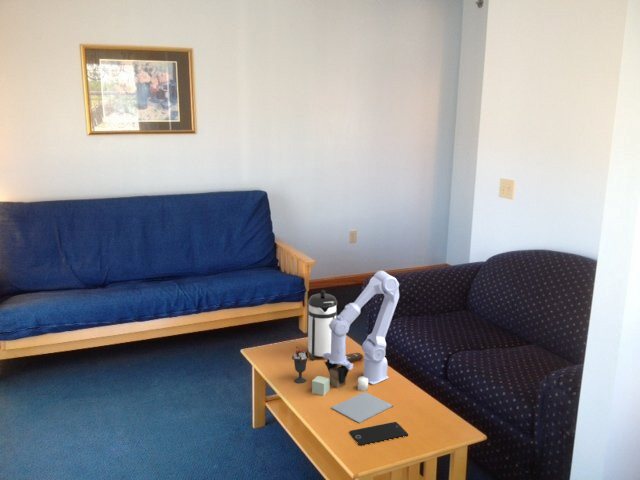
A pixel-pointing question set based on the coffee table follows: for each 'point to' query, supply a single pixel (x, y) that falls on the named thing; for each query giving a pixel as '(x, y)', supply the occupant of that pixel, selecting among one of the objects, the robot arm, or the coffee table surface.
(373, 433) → the cell phone
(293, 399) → the coffee table surface
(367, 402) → the slate board
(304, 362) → the sundae
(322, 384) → the sage block
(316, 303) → the coffee press
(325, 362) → the robot arm
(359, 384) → the cream rounded cylinder
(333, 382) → the walnut block
